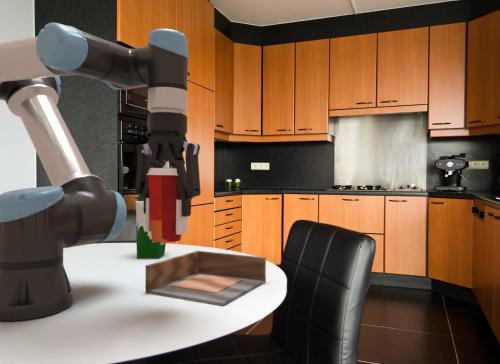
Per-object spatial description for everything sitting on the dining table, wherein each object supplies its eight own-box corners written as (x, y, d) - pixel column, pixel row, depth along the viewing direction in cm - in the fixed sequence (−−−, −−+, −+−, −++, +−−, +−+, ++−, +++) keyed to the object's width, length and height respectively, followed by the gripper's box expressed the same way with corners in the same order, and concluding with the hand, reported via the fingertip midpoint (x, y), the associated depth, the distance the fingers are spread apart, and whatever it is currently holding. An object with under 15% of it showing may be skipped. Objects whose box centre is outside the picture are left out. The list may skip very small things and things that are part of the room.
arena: (223, 306, 78) (223, 275, 78) (145, 292, 87) (145, 265, 87) (265, 282, 96) (265, 257, 96) (197, 273, 105) (197, 250, 105)
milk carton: (141, 253, 132) (141, 193, 132) (168, 253, 132) (168, 193, 131) (133, 259, 123) (133, 195, 123) (162, 259, 123) (161, 195, 123)
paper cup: (190, 237, 80) (191, 168, 80) (180, 244, 73) (181, 168, 72) (153, 236, 81) (154, 168, 81) (139, 242, 73) (139, 167, 73)
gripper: (221, 113, 75) (219, 233, 76) (142, 118, 84) (141, 226, 85) (199, 107, 69) (197, 239, 69) (115, 113, 77) (114, 230, 78)
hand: (166, 231), depth 77 cm, fingers closed on paper cup, 7 cm apart
